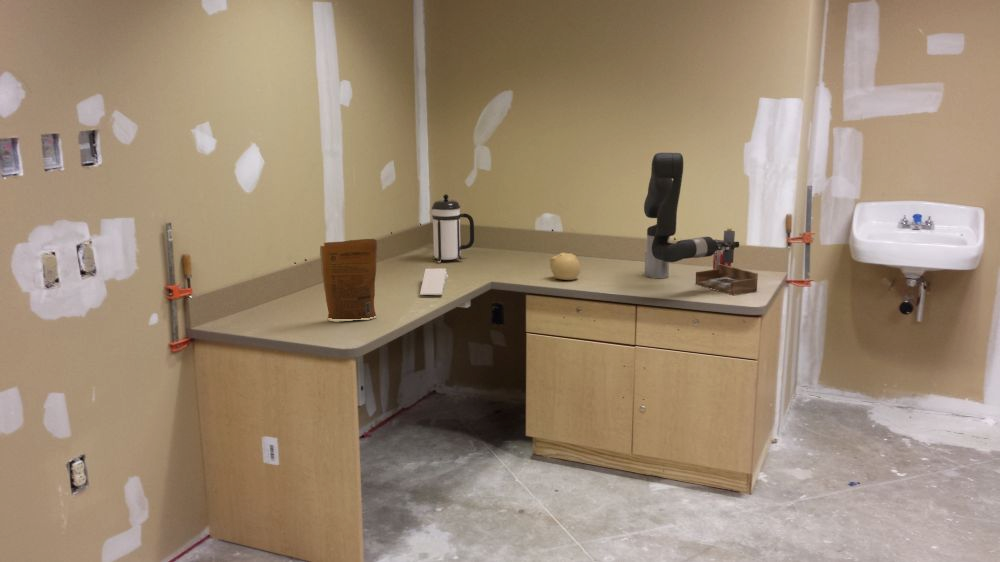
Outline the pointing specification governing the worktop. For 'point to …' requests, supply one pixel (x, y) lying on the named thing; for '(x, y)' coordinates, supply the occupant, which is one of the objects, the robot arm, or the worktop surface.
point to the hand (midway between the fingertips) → (734, 243)
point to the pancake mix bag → (349, 278)
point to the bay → (731, 273)
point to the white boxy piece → (433, 281)
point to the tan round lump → (565, 266)
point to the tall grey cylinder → (728, 237)
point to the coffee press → (448, 229)
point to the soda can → (719, 259)
